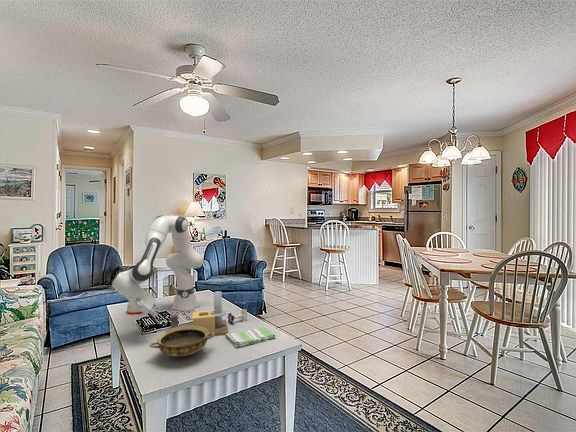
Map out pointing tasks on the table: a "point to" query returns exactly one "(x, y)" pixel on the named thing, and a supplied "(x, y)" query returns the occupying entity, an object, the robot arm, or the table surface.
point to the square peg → (174, 321)
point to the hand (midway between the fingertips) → (157, 312)
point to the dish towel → (249, 337)
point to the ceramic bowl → (182, 340)
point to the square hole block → (210, 315)
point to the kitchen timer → (133, 309)
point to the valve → (241, 316)
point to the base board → (216, 329)
